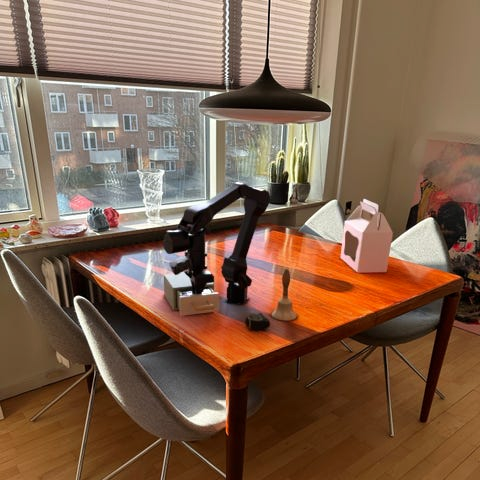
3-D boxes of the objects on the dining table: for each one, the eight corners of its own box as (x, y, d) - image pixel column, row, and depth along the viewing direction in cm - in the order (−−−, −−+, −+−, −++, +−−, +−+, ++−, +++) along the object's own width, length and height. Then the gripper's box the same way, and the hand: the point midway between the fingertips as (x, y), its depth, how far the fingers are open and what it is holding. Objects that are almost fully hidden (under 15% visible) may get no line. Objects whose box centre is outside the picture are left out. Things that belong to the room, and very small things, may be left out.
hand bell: (275, 321, 146) (278, 274, 139) (268, 311, 153) (271, 265, 147) (300, 320, 148) (304, 273, 141) (292, 310, 155) (296, 265, 148)
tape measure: (270, 331, 140) (271, 319, 138) (249, 333, 137) (250, 322, 136) (262, 322, 145) (262, 311, 144) (242, 324, 143) (242, 313, 142)
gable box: (340, 258, 214) (347, 197, 203) (366, 257, 216) (375, 197, 204) (357, 273, 194) (366, 206, 183) (386, 272, 196) (397, 206, 184)
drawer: (224, 317, 146) (224, 299, 143) (185, 322, 141) (184, 303, 139) (206, 296, 162) (206, 280, 159) (170, 300, 157) (170, 283, 155)
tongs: (208, 295, 152) (208, 289, 152) (211, 298, 150) (211, 292, 149) (182, 298, 149) (182, 291, 148) (184, 301, 147) (184, 295, 146)
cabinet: (214, 305, 157) (214, 283, 153) (173, 310, 152) (173, 287, 148) (201, 291, 169) (201, 270, 166) (164, 295, 164) (163, 274, 161)
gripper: (164, 243, 148) (166, 288, 154) (178, 259, 132) (179, 308, 139) (197, 240, 152) (197, 285, 158) (214, 256, 136) (214, 304, 142)
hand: (196, 295), depth 149 cm, fingers closed on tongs, 3 cm apart
